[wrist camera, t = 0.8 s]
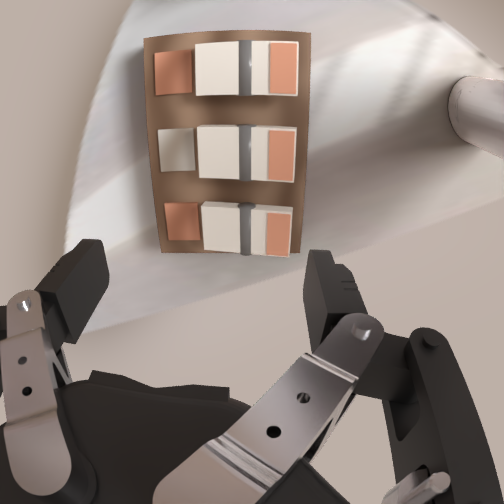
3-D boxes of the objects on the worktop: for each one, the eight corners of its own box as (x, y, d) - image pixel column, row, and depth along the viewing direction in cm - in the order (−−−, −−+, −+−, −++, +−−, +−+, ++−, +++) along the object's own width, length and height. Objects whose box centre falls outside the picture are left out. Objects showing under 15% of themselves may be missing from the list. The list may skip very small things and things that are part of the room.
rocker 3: (293, 205, 32) (291, 212, 30) (290, 250, 35) (288, 259, 33) (205, 199, 33) (200, 206, 32) (208, 243, 36) (203, 251, 34)
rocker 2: (296, 125, 28) (295, 128, 26) (294, 178, 30) (293, 184, 29) (202, 123, 29) (196, 126, 28) (204, 173, 32) (198, 179, 30)
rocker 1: (298, 42, 24) (298, 40, 22) (297, 96, 26) (297, 97, 25) (200, 44, 25) (194, 42, 24) (201, 95, 28) (195, 96, 26)
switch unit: (304, 37, 28) (311, 32, 24) (295, 236, 40) (300, 254, 37) (155, 42, 28) (142, 38, 24) (168, 236, 40) (160, 253, 37)
